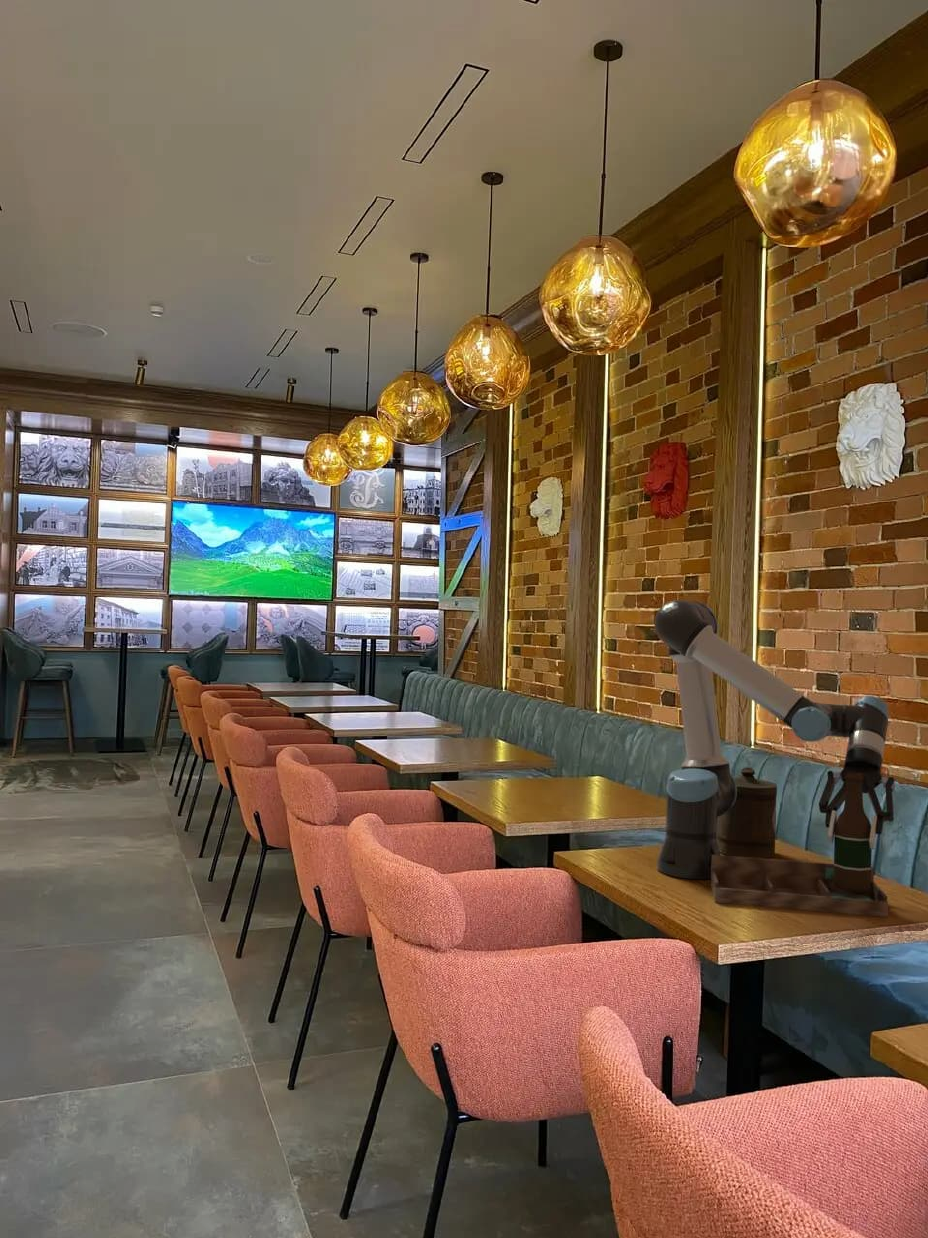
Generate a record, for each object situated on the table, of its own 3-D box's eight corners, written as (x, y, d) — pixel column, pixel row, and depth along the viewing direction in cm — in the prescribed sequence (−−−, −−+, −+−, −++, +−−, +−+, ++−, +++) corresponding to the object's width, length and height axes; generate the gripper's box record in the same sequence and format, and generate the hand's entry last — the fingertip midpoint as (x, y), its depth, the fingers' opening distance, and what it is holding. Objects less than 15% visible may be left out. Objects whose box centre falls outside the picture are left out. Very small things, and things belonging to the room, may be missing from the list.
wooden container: (787, 857, 238) (790, 771, 239) (740, 861, 233) (742, 772, 233) (749, 844, 252) (751, 762, 252) (703, 847, 247) (706, 763, 247)
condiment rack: (714, 902, 196) (715, 869, 196) (710, 886, 209) (711, 854, 209) (887, 917, 189) (888, 882, 190) (872, 899, 202) (873, 867, 202)
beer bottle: (826, 881, 201) (829, 769, 201) (863, 882, 201) (865, 770, 201) (840, 891, 193) (842, 775, 193) (878, 893, 193) (880, 776, 193)
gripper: (915, 771, 205) (905, 860, 191) (818, 762, 215) (802, 845, 201) (913, 749, 201) (903, 838, 187) (814, 741, 211) (797, 825, 197)
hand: (850, 842), depth 194 cm, fingers closed on beer bottle, 7 cm apart
